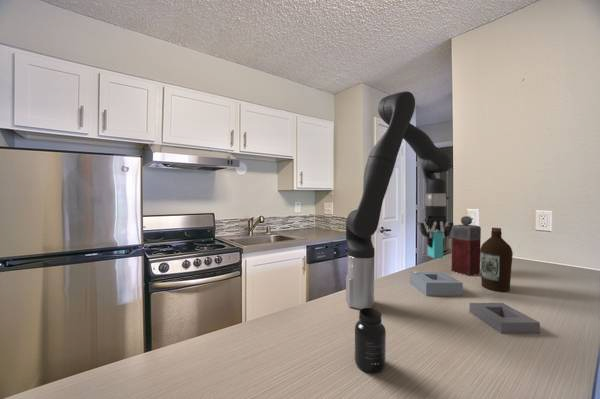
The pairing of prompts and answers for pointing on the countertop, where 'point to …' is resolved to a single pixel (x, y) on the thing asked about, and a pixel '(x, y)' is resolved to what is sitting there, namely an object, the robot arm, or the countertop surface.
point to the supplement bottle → (370, 341)
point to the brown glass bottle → (496, 263)
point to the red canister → (466, 247)
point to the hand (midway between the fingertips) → (435, 246)
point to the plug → (436, 246)
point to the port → (436, 284)
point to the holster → (504, 318)
